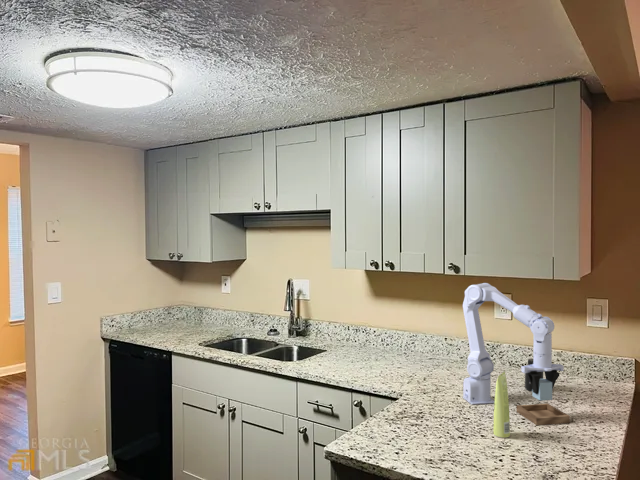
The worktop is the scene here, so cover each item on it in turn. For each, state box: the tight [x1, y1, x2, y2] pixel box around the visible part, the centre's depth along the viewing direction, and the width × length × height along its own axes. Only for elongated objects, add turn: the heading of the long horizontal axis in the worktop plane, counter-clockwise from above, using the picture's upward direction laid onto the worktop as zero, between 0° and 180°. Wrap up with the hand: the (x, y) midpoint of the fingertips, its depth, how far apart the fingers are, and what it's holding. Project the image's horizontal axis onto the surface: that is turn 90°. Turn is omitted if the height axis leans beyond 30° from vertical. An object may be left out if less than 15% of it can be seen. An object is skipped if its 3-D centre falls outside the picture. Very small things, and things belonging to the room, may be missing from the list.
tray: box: [516, 402, 571, 426], centre depth 167 cm, size 12×12×2 cm
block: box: [531, 377, 553, 402], centre depth 167 cm, size 4×4×6 cm
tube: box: [493, 370, 511, 439], centre depth 153 cm, size 6×5×20 cm
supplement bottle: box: [524, 358, 544, 392], centre depth 196 cm, size 7×7×12 cm
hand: (542, 392), depth 167 cm, fingers closed on block, 4 cm apart
